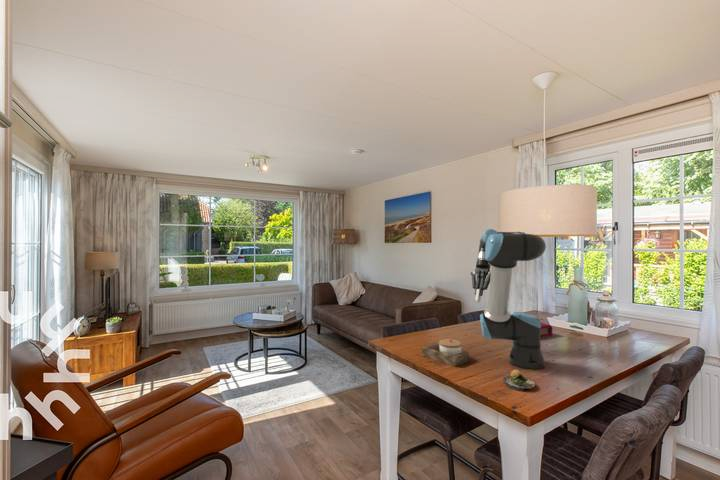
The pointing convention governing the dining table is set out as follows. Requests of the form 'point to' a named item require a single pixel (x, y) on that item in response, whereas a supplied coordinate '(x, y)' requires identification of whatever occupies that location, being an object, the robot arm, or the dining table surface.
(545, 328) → the book
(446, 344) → the lidded jar
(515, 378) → the plate of food
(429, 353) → the u-shaped bracket
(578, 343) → the dining table surface
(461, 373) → the dining table surface
